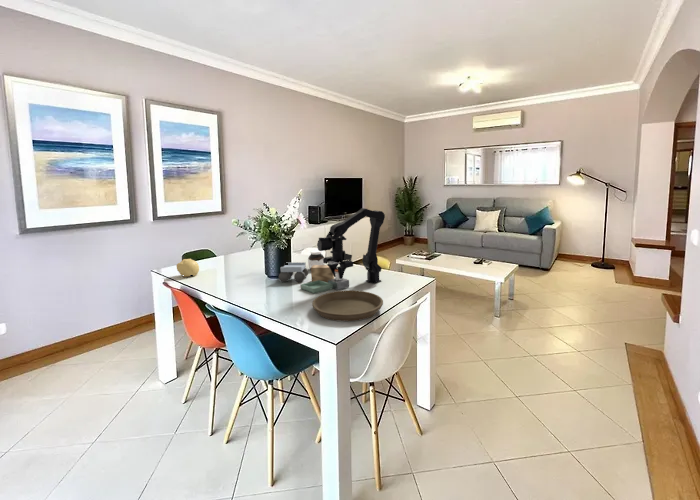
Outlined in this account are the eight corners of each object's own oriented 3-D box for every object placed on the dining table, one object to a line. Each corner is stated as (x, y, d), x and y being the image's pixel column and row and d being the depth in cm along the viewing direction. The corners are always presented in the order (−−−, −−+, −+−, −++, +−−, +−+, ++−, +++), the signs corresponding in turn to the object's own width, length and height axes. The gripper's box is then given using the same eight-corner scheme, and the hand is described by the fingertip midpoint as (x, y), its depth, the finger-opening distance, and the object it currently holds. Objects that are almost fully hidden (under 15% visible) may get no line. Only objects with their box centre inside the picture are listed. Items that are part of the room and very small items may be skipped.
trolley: (308, 276, 220) (308, 262, 219) (304, 282, 208) (304, 267, 207) (284, 276, 221) (283, 262, 220) (278, 282, 210) (277, 267, 208)
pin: (343, 287, 197) (342, 269, 195) (338, 288, 195) (337, 270, 193) (339, 286, 200) (338, 268, 198) (333, 287, 197) (333, 269, 195)
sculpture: (187, 273, 237) (185, 256, 235) (203, 274, 233) (201, 257, 231) (174, 277, 226) (172, 260, 224) (191, 278, 223) (189, 261, 221)
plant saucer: (363, 329, 142) (362, 318, 141) (298, 316, 157) (297, 306, 156) (394, 304, 168) (394, 295, 168) (336, 296, 183) (335, 287, 182)
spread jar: (320, 266, 245) (319, 249, 243) (329, 269, 236) (328, 252, 234) (304, 269, 238) (303, 251, 236) (313, 272, 229) (312, 254, 227)
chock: (334, 280, 211) (333, 265, 210) (333, 283, 206) (332, 267, 204) (313, 280, 212) (312, 265, 211) (311, 283, 206) (311, 267, 205)
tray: (332, 288, 194) (332, 284, 194) (314, 293, 187) (313, 289, 186) (319, 284, 203) (319, 280, 203) (301, 288, 196) (300, 284, 195)
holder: (349, 287, 197) (349, 280, 196) (337, 290, 191) (337, 283, 191) (339, 284, 203) (339, 277, 202) (328, 287, 197) (327, 280, 197)
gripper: (360, 249, 191) (361, 278, 194) (338, 244, 205) (339, 272, 208) (344, 252, 184) (345, 282, 187) (322, 247, 198) (323, 275, 201)
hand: (338, 277), depth 196 cm, fingers open, 5 cm apart
